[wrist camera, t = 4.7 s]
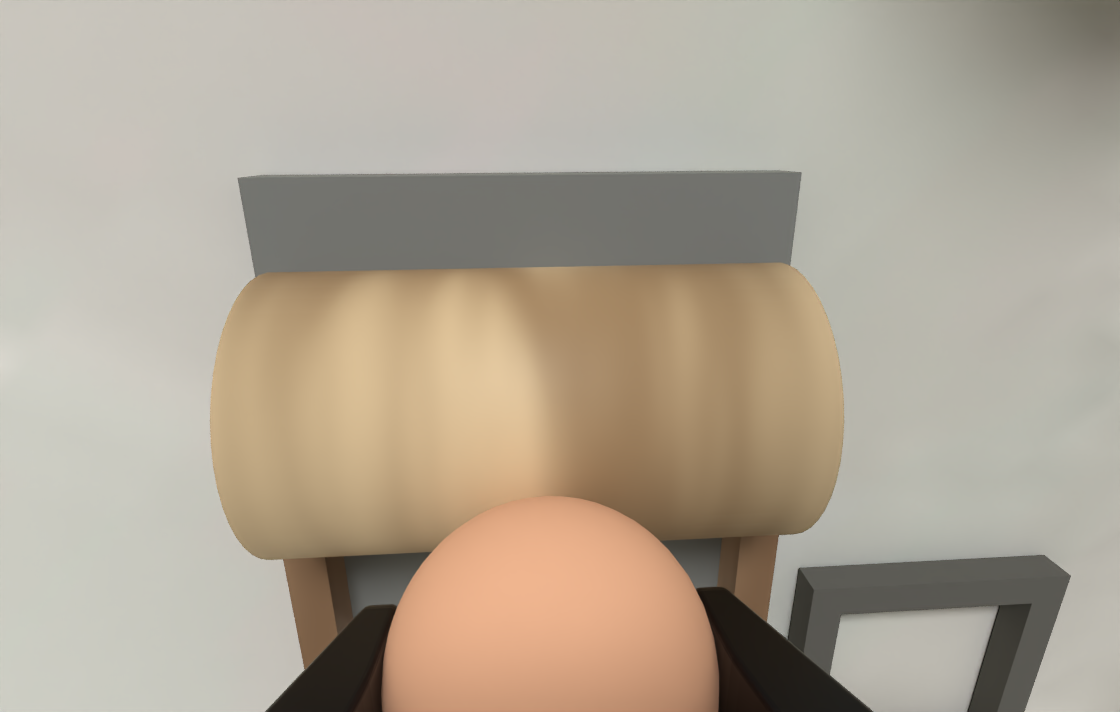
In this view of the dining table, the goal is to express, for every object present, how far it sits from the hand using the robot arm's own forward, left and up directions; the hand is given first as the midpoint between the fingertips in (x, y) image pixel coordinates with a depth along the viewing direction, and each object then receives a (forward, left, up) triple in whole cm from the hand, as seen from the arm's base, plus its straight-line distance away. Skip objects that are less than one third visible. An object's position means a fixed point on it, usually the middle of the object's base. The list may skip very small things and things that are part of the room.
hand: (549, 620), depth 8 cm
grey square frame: (-10, +8, -6) cm, 14 cm away
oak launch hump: (0, -1, -6) cm, 6 cm away
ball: (0, 0, -1) cm, 1 cm away
